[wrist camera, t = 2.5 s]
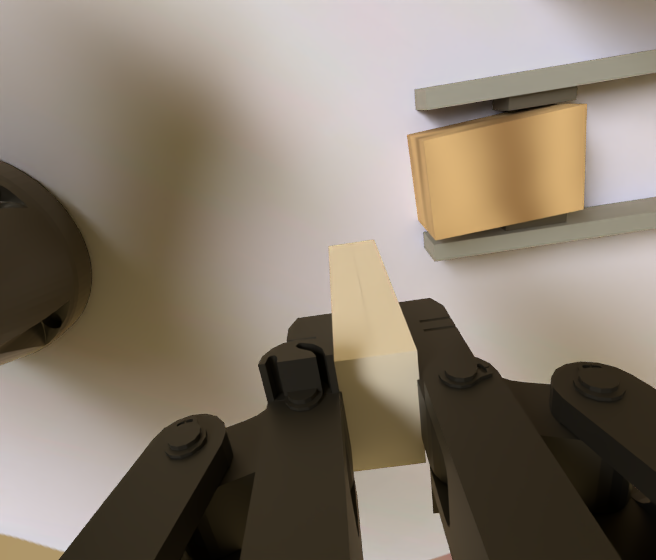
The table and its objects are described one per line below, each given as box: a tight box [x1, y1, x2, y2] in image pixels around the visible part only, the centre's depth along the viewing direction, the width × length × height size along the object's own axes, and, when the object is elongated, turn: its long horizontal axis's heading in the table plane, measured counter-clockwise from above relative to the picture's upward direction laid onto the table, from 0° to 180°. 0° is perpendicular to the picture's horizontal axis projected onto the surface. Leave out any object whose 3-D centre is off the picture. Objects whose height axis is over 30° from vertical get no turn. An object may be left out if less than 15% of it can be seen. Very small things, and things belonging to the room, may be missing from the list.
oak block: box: [407, 104, 587, 241], centre depth 26 cm, size 9×6×5 cm, turn 102°
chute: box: [415, 50, 656, 261], centre depth 26 cm, size 21×11×5 cm, turn 99°
